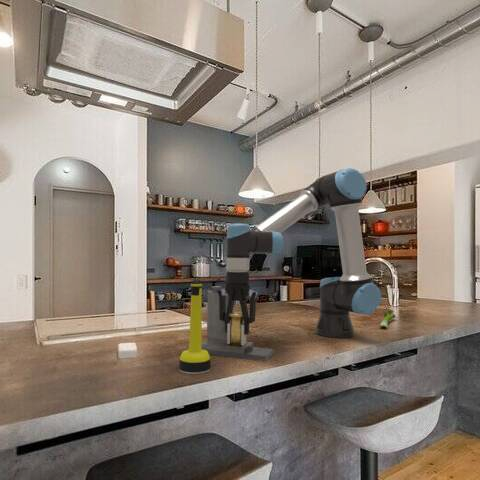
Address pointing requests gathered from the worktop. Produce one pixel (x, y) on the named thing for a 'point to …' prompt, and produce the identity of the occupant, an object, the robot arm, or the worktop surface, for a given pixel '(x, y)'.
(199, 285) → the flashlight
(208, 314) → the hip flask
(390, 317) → the leek
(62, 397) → the worktop surface
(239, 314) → the pin
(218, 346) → the grey socket base
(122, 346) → the soap
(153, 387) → the worktop surface
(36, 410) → the worktop surface
